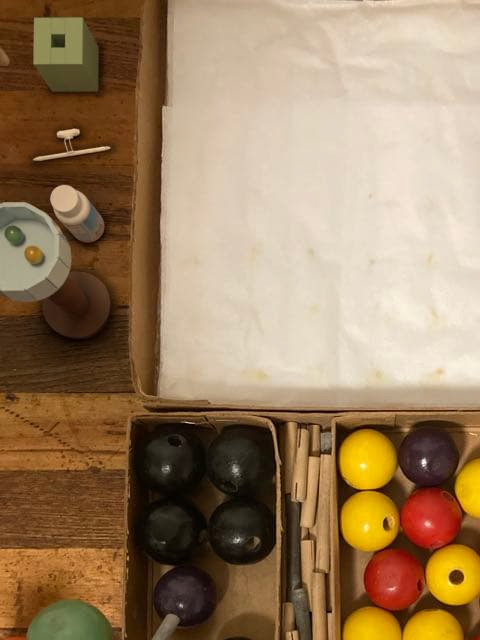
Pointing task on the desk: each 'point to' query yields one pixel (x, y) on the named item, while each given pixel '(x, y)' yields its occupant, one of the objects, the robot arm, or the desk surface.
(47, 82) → the stand
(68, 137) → the picture light
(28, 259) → the yellow bead
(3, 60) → the stick
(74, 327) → the pedestal
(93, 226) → the pill bottle
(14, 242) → the green bead
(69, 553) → the desk surface
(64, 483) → the desk surface
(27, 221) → the bowl
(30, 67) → the desk surface
